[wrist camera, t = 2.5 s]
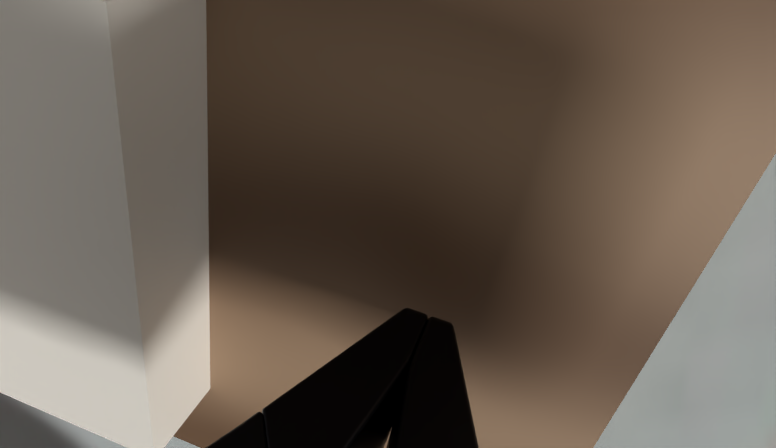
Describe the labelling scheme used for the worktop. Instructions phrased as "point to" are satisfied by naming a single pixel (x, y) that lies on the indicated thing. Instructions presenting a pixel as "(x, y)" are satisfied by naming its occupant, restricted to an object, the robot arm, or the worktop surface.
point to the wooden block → (473, 190)
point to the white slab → (105, 213)
